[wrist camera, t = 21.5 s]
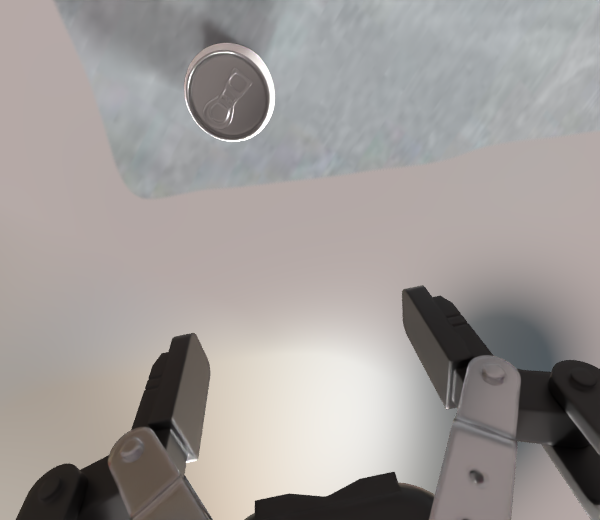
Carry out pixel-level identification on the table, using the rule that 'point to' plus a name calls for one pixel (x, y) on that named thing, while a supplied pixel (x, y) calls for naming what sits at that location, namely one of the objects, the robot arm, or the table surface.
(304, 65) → the table surface
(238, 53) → the can
